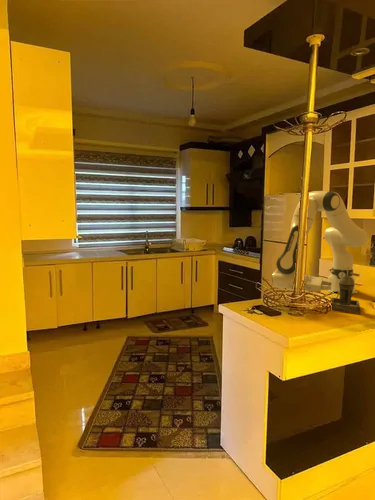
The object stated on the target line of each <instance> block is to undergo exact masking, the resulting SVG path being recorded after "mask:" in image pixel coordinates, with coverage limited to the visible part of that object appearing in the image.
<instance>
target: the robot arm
mask: <svg viewBox="0 0 375 500" xmlns="http://www.w3.org/2000/svg"><path fill="white" fill-rule="evenodd" d="M308 191H309V208H308V217H307V231H306V235H305V236H307V235H308V234H309V232H310V231H311V229H312V226H313V224H314V223H315V218H316V213H317V212H324V213H325V216H326V218H327V221H328V224H329V225H330V227H328V228H326V229H325V231H324V234H323V235H324V236H323V237H324V240H325V242H326V243H327V244H328V245H329V248H331V251H332V267H331V272H330V273H331V274H330V275H329V276H328V278H327V280H324V278H322V277H318V276H313V275H309V274H306V273H304V274H305V275H304V274H303V275H304V280H305V283H304V286H303V288H304V289H305V290H306V291H308V292H312V293H313V292H314V293H321V292H322V291H329V292H331V293H334V292H333V291H339V293H338V294H339V295H340V288H339V281H340V279H341V278H342V277H344V276H347V269H348V267H349V270H348V276H349V277H351V278H352V279H353V281H354V288H353V291H352V295H353V294H358V292H359V291H358V290H357V289H356V287H355V285H356V279H355V278H354V276H353V275H354V269H353V268H354V255H353V254H352V253H350V252H349V250H348V248H347V247H349V248H350V247H351V248H359V247H360V248H361V247H364V246H365V245H366V244H367V242H368V239H369V238H368V237H369V236H368V233H367V231H366V230H365V229H362V228H361V227H359V226H358V225H357V224H356V223H355V222H354V221H353V220H352V219H351V217H350V215H349V213H348V212H349V211H348V210H347V207H346V205H345V203H344V200H343V198H342V197H341V196H340V194H339V193H337V192H335V191H327V190H314V191H313V190H308ZM299 208H300V200H299V202H298V203H297V206H296V207H295V210H294V212H293V215H292V219H291V221H290V222H291V223H290V229H289V237H288V239H287V242H286V245H285V248H284V251H283V253H282V254H281V255H279V257H278V259H277V260H276V264H275V265H276V269H275V270H274V272H273V273H272V274H271V282H272V285H273V286H274V287H275V288H277V289H282V290H284V289H283V288H286V289H285V290H287V289H289V290H293V289H292V286H293V281H294V275H295V263H296V260H297V254H296V249H297V236H298V223H299Z"/></svg>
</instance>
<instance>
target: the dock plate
mask: <svg viewBox="0 0 375 500" xmlns="http://www.w3.org/2000/svg"><path fill="white" fill-rule="evenodd" d="M332 299H333V300H332ZM331 301H332V303H331V305H332V310H331V311H333V312H341V313H349V314H357V315H362V309H361V305H360V301H359V300H357V299H356V300H355V299H351V302H350V306H348V305H340V297H331Z"/></svg>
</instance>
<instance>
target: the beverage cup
mask: <svg viewBox="0 0 375 500" xmlns="http://www.w3.org/2000/svg"><path fill="white" fill-rule="evenodd" d="M348 270H349V267H348V269H347V276H344V277H342V278H341V279H340V281H339V288H340V294H339V298H340V305H348V306H350V302H351V300H352V296H353V294H352V291H353V288H354V281H353V279H352V278H351V277H349V276H348Z"/></svg>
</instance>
